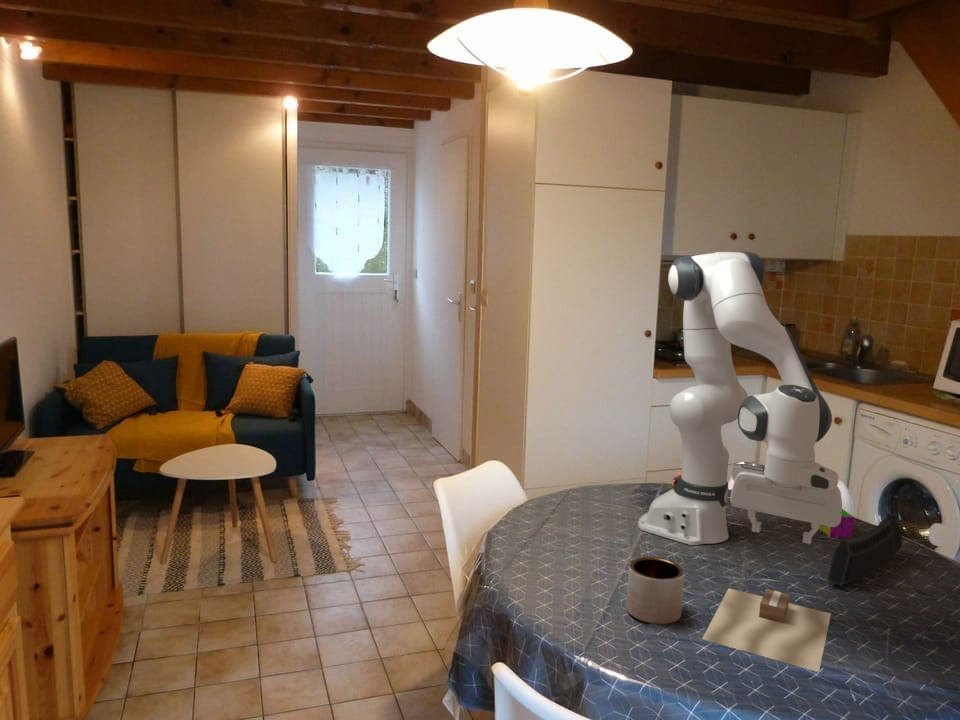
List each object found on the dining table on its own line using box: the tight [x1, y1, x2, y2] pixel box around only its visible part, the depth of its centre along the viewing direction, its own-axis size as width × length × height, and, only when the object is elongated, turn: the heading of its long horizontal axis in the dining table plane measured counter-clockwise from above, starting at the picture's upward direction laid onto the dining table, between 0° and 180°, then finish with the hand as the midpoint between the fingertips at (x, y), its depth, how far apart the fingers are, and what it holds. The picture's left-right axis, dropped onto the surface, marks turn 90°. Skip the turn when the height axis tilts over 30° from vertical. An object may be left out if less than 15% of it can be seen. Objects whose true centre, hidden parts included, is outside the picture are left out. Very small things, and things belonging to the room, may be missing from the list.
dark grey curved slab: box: [827, 513, 903, 587], centre depth 170 cm, size 17×3×30 cm
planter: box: [625, 556, 685, 625], centre depth 148 cm, size 11×11×10 cm
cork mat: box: [701, 588, 832, 673], centre depth 144 cm, size 20×24×1 cm
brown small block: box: [759, 588, 790, 623], centre depth 149 cm, size 7×4×3 cm, turn 150°
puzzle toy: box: [818, 508, 855, 538], centre depth 192 cm, size 6×6×6 cm
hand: (781, 536), depth 146 cm, fingers open, 8 cm apart
